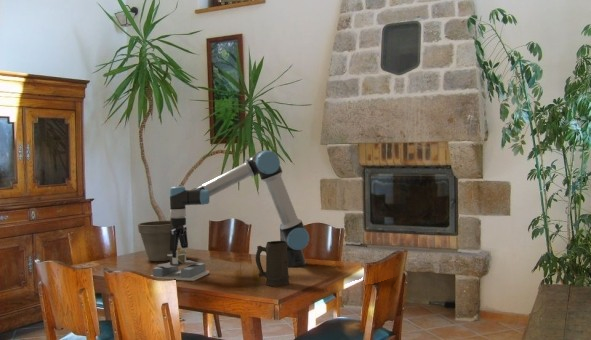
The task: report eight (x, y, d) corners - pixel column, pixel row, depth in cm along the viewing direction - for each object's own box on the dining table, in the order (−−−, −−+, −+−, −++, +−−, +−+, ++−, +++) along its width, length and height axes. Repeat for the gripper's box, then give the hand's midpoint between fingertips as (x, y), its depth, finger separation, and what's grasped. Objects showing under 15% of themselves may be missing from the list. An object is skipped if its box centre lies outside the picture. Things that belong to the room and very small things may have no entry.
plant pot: (130, 262, 358) (129, 224, 357) (153, 255, 381) (152, 219, 380) (168, 263, 350) (167, 225, 349) (189, 256, 373) (188, 220, 373)
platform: (199, 263, 313) (199, 250, 313) (166, 267, 302) (166, 254, 302) (188, 260, 323) (188, 247, 322) (156, 264, 312) (155, 251, 312)
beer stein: (290, 281, 295) (286, 239, 295) (291, 285, 284) (287, 242, 284) (258, 284, 295) (254, 242, 294) (257, 289, 284) (253, 245, 283)
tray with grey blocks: (208, 273, 318) (208, 263, 318) (194, 280, 301) (193, 269, 301) (166, 272, 325) (166, 262, 325) (149, 278, 308) (148, 268, 307)
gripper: (180, 215, 323) (181, 258, 324) (161, 219, 303) (162, 266, 304) (194, 215, 321) (195, 258, 322) (175, 219, 301) (176, 266, 302)
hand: (179, 262), depth 313 cm, fingers closed on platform, 8 cm apart
